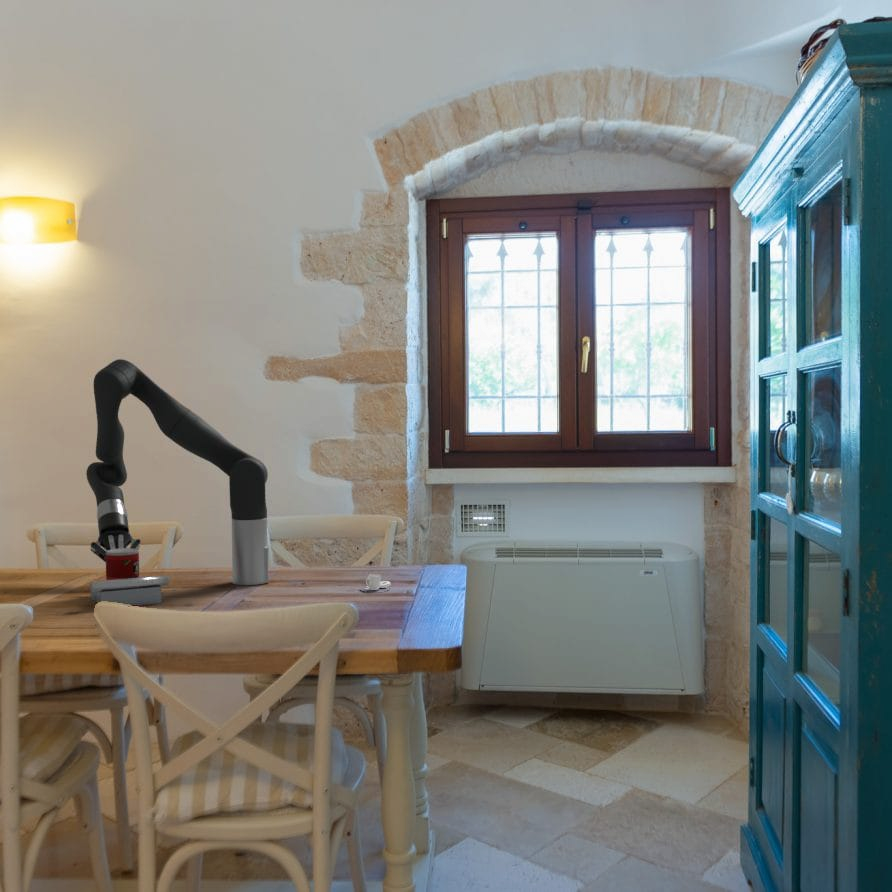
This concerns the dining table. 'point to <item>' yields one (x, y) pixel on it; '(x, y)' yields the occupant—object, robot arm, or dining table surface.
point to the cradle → (129, 590)
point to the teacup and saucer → (376, 582)
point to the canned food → (122, 563)
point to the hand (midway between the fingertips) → (119, 572)
